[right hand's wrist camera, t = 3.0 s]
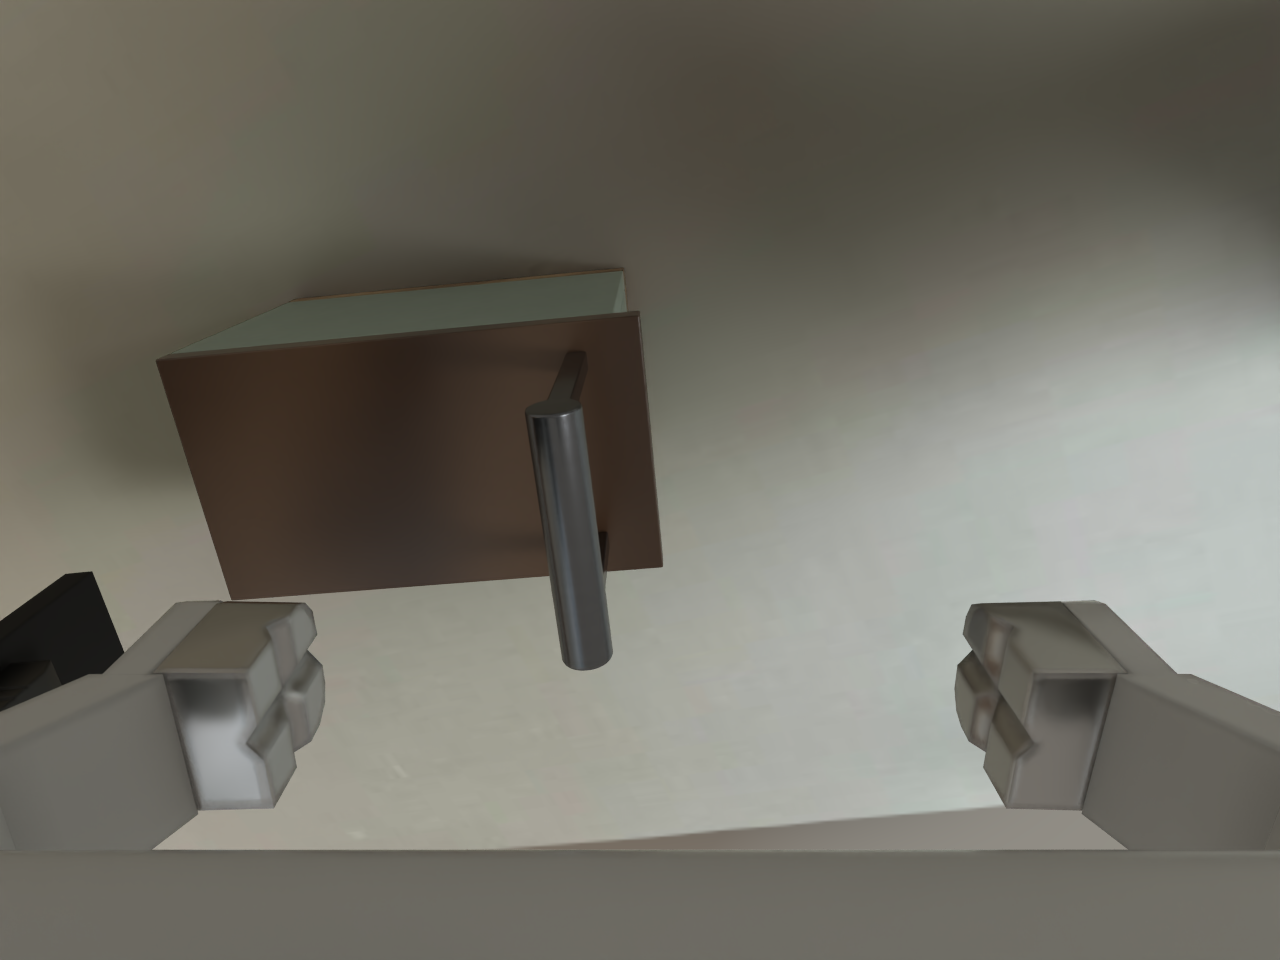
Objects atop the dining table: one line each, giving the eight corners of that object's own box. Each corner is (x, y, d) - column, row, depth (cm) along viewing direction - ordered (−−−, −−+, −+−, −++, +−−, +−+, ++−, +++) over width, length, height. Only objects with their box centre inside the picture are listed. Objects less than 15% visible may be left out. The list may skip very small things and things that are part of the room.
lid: (640, 310, 29) (634, 373, 21) (662, 556, 32) (666, 691, 24) (168, 353, 29) (-10, 430, 22) (242, 589, 33) (112, 729, 25)
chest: (623, 267, 39) (613, 312, 29) (642, 457, 43) (639, 558, 32) (295, 298, 40) (169, 352, 30) (340, 482, 44) (242, 588, 33)
